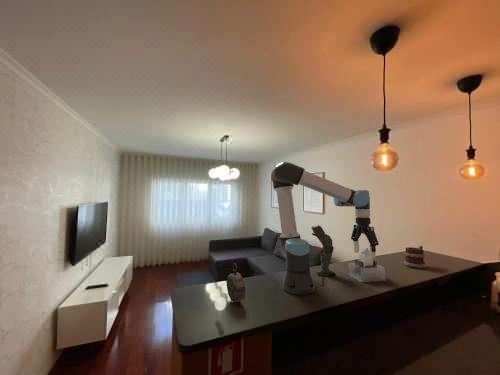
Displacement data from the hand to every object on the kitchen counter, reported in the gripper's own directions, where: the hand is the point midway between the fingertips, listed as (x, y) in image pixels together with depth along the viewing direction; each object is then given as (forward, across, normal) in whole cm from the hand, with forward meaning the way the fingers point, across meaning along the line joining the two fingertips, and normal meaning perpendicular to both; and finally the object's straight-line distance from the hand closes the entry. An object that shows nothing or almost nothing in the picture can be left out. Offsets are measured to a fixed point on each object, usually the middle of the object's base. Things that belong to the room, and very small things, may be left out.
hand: (364, 255), depth 116 cm
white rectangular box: (+12, 0, -1) cm, 12 cm away
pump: (+5, 0, -1) cm, 5 cm away
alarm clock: (+14, -18, +74) cm, 78 cm away
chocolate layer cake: (+12, +14, -48) cm, 51 cm away
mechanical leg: (+13, +10, +19) cm, 25 cm away
